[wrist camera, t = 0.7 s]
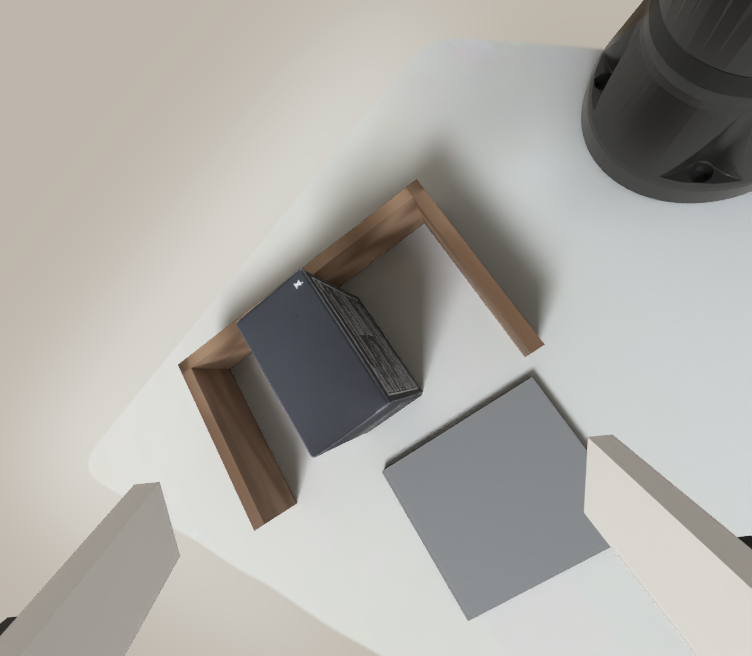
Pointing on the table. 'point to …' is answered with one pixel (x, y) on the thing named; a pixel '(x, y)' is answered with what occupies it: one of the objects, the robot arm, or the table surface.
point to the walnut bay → (336, 266)
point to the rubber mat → (500, 499)
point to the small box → (326, 361)
